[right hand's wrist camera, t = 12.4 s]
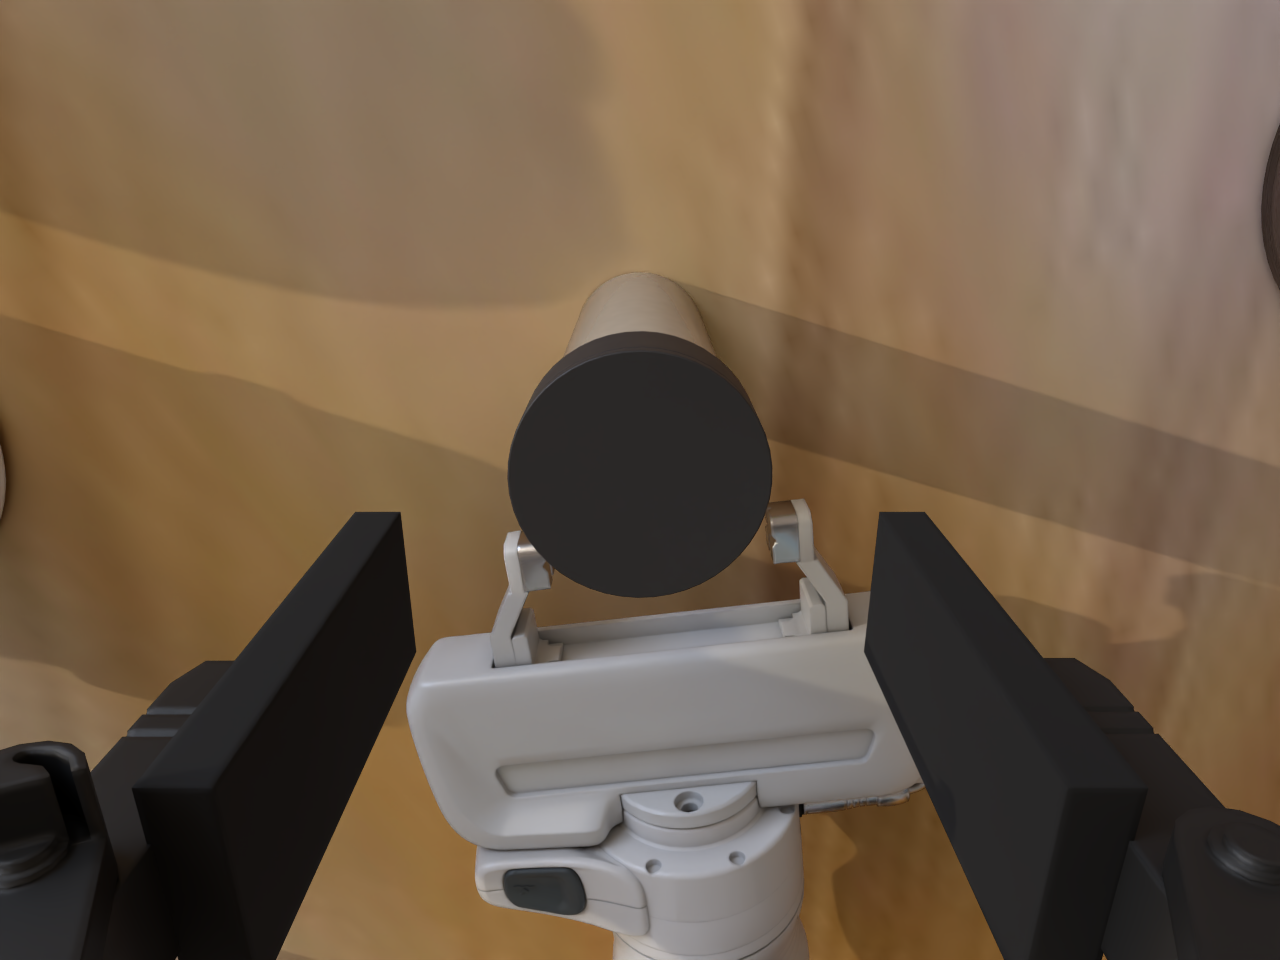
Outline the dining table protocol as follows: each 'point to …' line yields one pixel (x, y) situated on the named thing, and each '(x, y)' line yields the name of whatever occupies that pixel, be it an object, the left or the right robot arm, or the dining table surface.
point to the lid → (639, 466)
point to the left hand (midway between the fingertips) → (655, 520)
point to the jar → (639, 311)
